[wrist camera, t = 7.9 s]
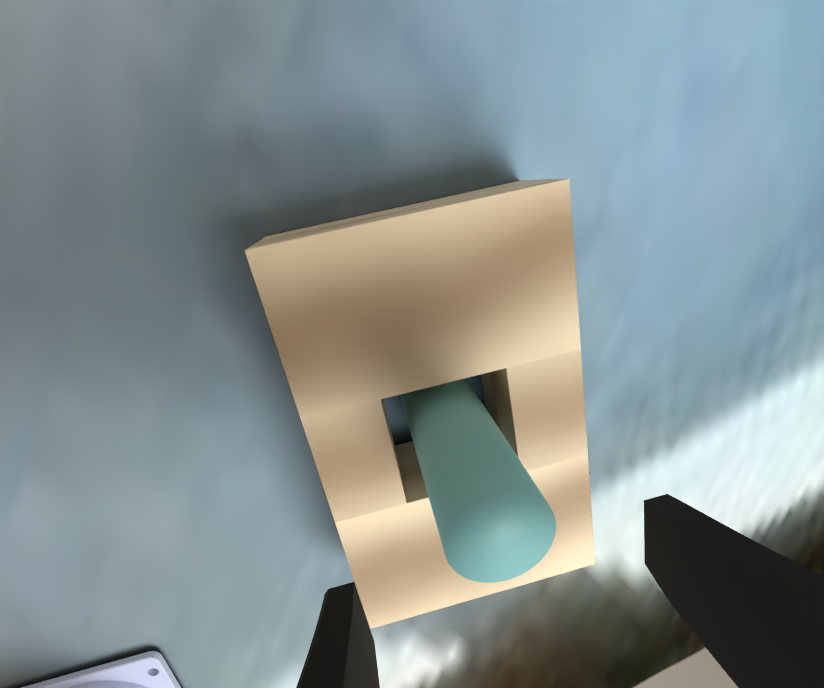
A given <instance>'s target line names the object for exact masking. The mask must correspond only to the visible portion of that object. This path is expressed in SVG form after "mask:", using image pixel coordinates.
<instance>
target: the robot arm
mask: <svg viewBox="0 0 824 688" xmlns="http://www.w3.org/2000/svg"><path fill="white" fill-rule="evenodd" d="M644 539H645V564H646V566H647V567H648V569H649V571H650V572H651V574H652V575H653V577H654V579H655V580H656V582H657V583H658V585H659V586H660V588H661V589H662V591H663V592H664V594H665V595H666V597H667V598H668V600H669V601H670V603H671V604H672V606H673V607H674V608H675V610H676V611H677V612H678V613H679V615H680V616H681V617H682V619H683V620H684V621H685V622H686V623H687V625H688V626H689V627H690V628H691V630H692V631H693V632H694V633H695V635H696V636H697V637H698V638H699V640H700V641H701V642H702V643H703V645H704V646H705V647H706V648H707V649H708V650H709V652H710V653H711V654H712V655H713V657H714V658H715V659H716V661H717V662H718V663H719V664H720V665H721V667H722V668H723V669H724V670H725V671H726V673H727V674H728V675H729V677H731V679H732V680H733V681H734V683H735V684H736V685H737V686H738V687H739V688H824V576H823V575H821V574H819V573H817V572H815V571H812V570H810V569H808V568H806V567H804V566H802V565H800V564H798V563H796V562H794V561H792V560H790V559H788V558H786V557H784V556H782V555H780V554H778V553H776V552H774V551H772V550H770V549H768V548H766V547H765V546H763V545H761V544H759V543H757V542H755V541H753V540H751V539H749V538H748V537H746V536H744V535H742V534H740V533H738V532H736V531H734V530H733V529H731V528H729V527H727V526H725V525H723V524H722V523H720V522H718V521H716V520H714V519H712V518H711V517H709V516H707V515H705V514H703V513H702V512H700V511H698V510H696V509H694V508H692V507H691V506H689V505H687V504H685V503H683V502H681V501H680V500H678V499H676V498H674V497H672V496H670V495H668V494H666V495H662V496H659V497H655V498H652V499H648V500H644ZM21 688H181V687H180V685H179V683H178V682H177V680H176V678H175V677H174V675H173V673H172V671H171V670H170V668H169V666H168V665H167V663H166V661H165V660H164V658H163V656H162V655H161V654H160V653H159V652H156V651H149V652H145V653H142V654H138V655H135V656H131V657H127V658H124V659H120V660H117V661H113V662H110V663H106V664H103V665H99V666H96V667H92V668H88V669H85V670H81V671H78V672H74V673H71V674H67V675H64V676H60V677H57V678H53V679H50V680H46V681H42V682H39V683H35V684H32V685H28V686H25V687H21ZM296 688H380V687H379V678H378V669H377V661H376V652H375V644H374V640H373V637H372V634H371V631H370V628H369V625H368V622H367V619H366V616H365V613H364V610H363V607H362V604H361V601H360V598H359V595H358V592H357V589H356V586H355V583H354V582H352V583H349V584H345V585H341V586H338V587H334V588H331V589H328V591H327V592H326V593H325V596H324V600H323V604H322V608H321V612H320V616H319V619H318V623H317V626H316V630H315V633H314V636H313V639H312V643H311V646H310V649H309V652H308V655H307V658H306V661H305V664H304V667H303V670H302V673H301V676H300V679H299V682H298V684H297V687H296Z"/></svg>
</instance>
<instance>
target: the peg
mask: <svg viewBox="0 0 824 688" xmlns="http://www.w3.org/2000/svg"><path fill="white" fill-rule="evenodd" d="M400 397H401V401H402V405H403V408H404V412H405V415H406V419H407V422H408V426H409V429H410V433H411V436H412V440H413V443H414V447H415V451H416V454H417V458H418V461H419V465H420V468H421V472H422V475H423V479H424V482H425V486H426V490H427V493H428V497H429V500H430V504H431V507H432V511H433V514H434V518H435V521H436V525H437V528H438V532H439V536H440V539H441V543H442V546H443V550H444V553H445V556H446V559H447V561H448V563H449V565H450V566H451V567H452V569H453V570H454V571H455V572H457V573H458V574H459V575H461V576H462V577H464V578H466V579H469V580H472V581H476V582H483V583H495V582H502V581H506V580H509V579H512V578H515V577H517V576H520V575H522V574H523V573H525V572H527V571H528V570H530V569H531V568H533V567H534V566H535V565H536V564H537V563H539V562H540V561H541V560H542V558H543V557H544V556H545V555H546V553H547V552H548V550H549V549H550V547H551V545H552V543H553V540H554V537H555V533H556V520H555V516H554V513H553V511H552V509H551V507H550V506H549V504H548V502H547V501H546V499H545V498H544V496H543V495H542V493H541V492H540V490H539V489H538V487H537V486H536V484H535V483H534V481H533V480H532V478H531V476H530V475H529V473H528V472H527V470H526V469H525V467H524V466H523V464H522V463H521V461H520V460H519V458H518V457H517V455H516V454H515V452H514V451H513V449H512V447H511V446H510V444H509V443H508V441H507V440H506V438H505V437H504V435H503V434H502V432H501V431H500V429H499V428H498V426H497V425H496V423H495V422H494V420H493V418H492V417H491V415H490V414H489V412H488V411H487V409H486V408H485V406H484V405H483V403H482V402H481V400H480V399H479V397H478V396H477V394H476V393H475V391H474V389H473V388H472V386H471V385H470V383H469V382H468V380H467V379H466V378H464V379H460V380H456V381H452V382H448V383H444V384H440V385H436V386H432V387H428V388H424V389H420V390H416V391H412V392H408V393H404V394H400Z"/></svg>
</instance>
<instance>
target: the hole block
mask: <svg viewBox="0 0 824 688" xmlns="http://www.w3.org/2000/svg"><path fill="white" fill-rule="evenodd" d="M245 253H246V256H247V259H248V262H249V265H250V268H251V271H252V274H253V277H254V280H255V283H256V286H257V289H258V292H259V295H260V298H261V301H262V304H263V307H264V310H265V313H266V316H267V319H268V322H269V325H270V328H271V331H272V334H273V338H274V341H275V344H276V347H277V350H278V353H279V356H280V359H281V362H282V365H283V368H284V371H285V374H286V377H287V380H288V383H289V386H290V389H291V392H292V395H293V398H294V401H295V404H296V407H297V410H298V413H299V416H300V419H301V422H302V425H303V428H304V431H305V434H306V437H307V440H308V443H309V446H310V449H311V452H312V455H313V458H314V461H315V464H316V467H317V470H318V473H319V476H320V479H321V482H322V485H323V488H324V491H325V494H326V497H327V500H328V503H329V506H330V509H331V512H332V515H333V518H334V521H335V524H336V527H337V530H338V533H339V536H340V539H341V542H342V545H343V548H344V551H345V554H346V557H347V560H348V563H349V566H350V569H351V572H352V575H353V578H354V581H355V584H356V587H357V590H358V593H359V596H360V599H361V602H362V605H363V608H364V611H365V614H366V617H367V620H368V623H369V626H370V629H372V628H375V627H378V626H382V625H385V624H389V623H392V622H396V621H399V620H403V619H406V618H410V617H413V616H417V615H420V614H423V613H427V612H430V611H434V610H437V609H441V608H444V607H448V606H451V605H455V604H458V603H462V602H465V601H468V600H472V599H475V598H479V597H482V596H486V595H489V594H493V593H496V592H500V591H503V590H507V589H510V588H513V587H517V586H520V585H524V584H527V583H531V582H534V581H538V580H541V579H545V578H548V577H552V576H555V575H558V574H562V573H565V572H569V571H572V570H576V569H579V568H583V567H586V566H590V565H593V564H595V556H594V541H593V526H592V511H591V496H590V481H589V466H588V451H587V436H586V421H585V406H584V391H583V376H582V361H581V346H580V331H579V316H578V301H577V286H576V271H575V256H574V241H573V226H572V211H571V196H570V181H569V179H548V180H521V181H516V182H511V183H507V184H502V185H497V186H493V187H488V188H484V189H479V190H475V191H470V192H466V193H461V194H456V195H452V196H447V197H443V198H438V199H434V200H429V201H425V202H420V203H415V204H411V205H406V206H402V207H397V208H393V209H388V210H383V211H379V212H374V213H370V214H365V215H361V216H356V217H352V218H347V219H342V220H338V221H333V222H329V223H324V224H320V225H315V226H311V227H306V228H301V229H297V230H292V231H288V232H283V233H279V234H274V235H269V236H266V237H264V238H263V239H261V240H260V241H258V242H257V243H255V244H254V245H252V246H250V247H249V248H247V249H246V250H245ZM480 374H481V379H482V386H483V392H484V398H485V405H486V409H487V411H488V412H489V414H490V415H491V417H492V418H493V420H494V422H495V423H496V425H497V426H498V428H499V429H500V431H501V432H502V434H503V435H504V437H505V438H506V440H507V441H508V443H509V444H510V446H511V447H512V449H513V451H514V452H515V454H516V455H517V457H518V458H519V460H520V461H521V463H522V464H523V466H524V467H525V469H526V470H527V472H528V473H529V475H530V476H531V478H532V480H533V481H534V483H535V484H536V486H537V487H538V489H539V490H540V492H541V493H542V495H543V496H544V498H545V499H546V501H547V502H548V504H549V506H550V507H551V509H552V511H553V513H554V516H555V520H556V533H555V537H554V540H553V543H552V545H551V547H550V549H549V550H548V552H547V553H546V555H545V556H544V557H543V558H542V560H541V561H540V562H539V563H537V564H536V565H535V566H534V567H533V568H531V569H530V570H528V571H527V572H525V573H523V574H522V575H520V576H517V577H515V578H512V579H509V580H506V581H502V582H495V583H483V582H476V581H472V580H469V579H466V578H464V577H462V576H461V575H459V574H458V573H457V572H455V571H454V570H453V569H452V567H451V566H450V565H449V563H448V561H447V559H446V556H445V553H444V550H443V546H442V543H441V539H440V536H439V532H438V528H437V525H436V521H435V518H434V514H433V511H432V507H431V504H430V500H429V497H428V493H427V490H426V486H425V482H424V479H423V475H422V472H421V468H420V465H419V461H418V458H417V454H416V451H415V447H414V443H413V441H411V442H407V443H403V444H400V445H396V446H395V445H394V441H393V437H392V433H391V429H390V425H389V421H388V417H387V413H386V409H385V405H384V401H383V399H385V398H389V397H393V396H396V395H400V394H404V393H408V392H412V391H416V390H420V389H424V388H428V387H432V386H436V385H440V384H444V383H448V382H452V381H456V380H460V379H464V378H468V377H472V376H476V375H480Z"/></svg>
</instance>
